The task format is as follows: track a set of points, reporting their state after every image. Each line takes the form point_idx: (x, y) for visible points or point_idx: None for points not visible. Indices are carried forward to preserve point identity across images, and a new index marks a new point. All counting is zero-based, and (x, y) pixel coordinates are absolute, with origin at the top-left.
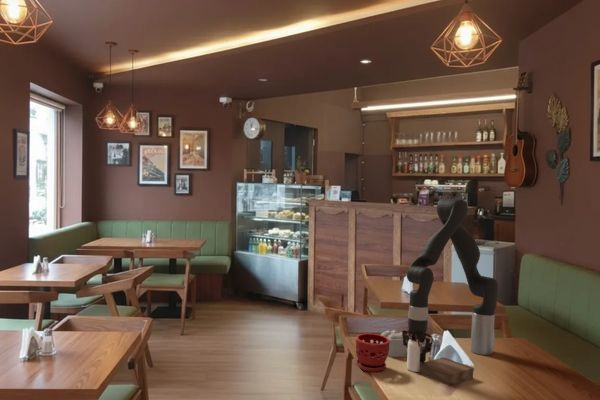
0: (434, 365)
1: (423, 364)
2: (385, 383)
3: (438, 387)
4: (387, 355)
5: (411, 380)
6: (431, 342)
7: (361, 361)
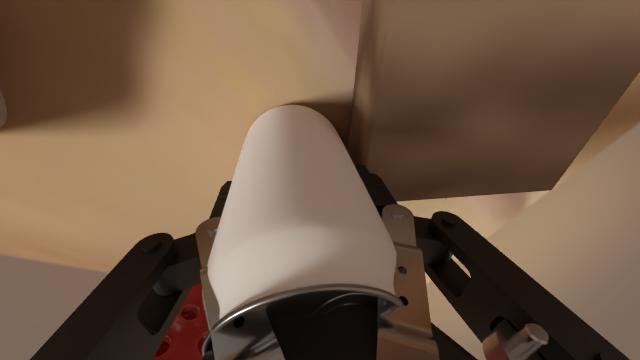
0: (442, 158)
1: None
2: None
3: (473, 204)
4: None
5: None
6: (560, 322)
7: (201, 344)
